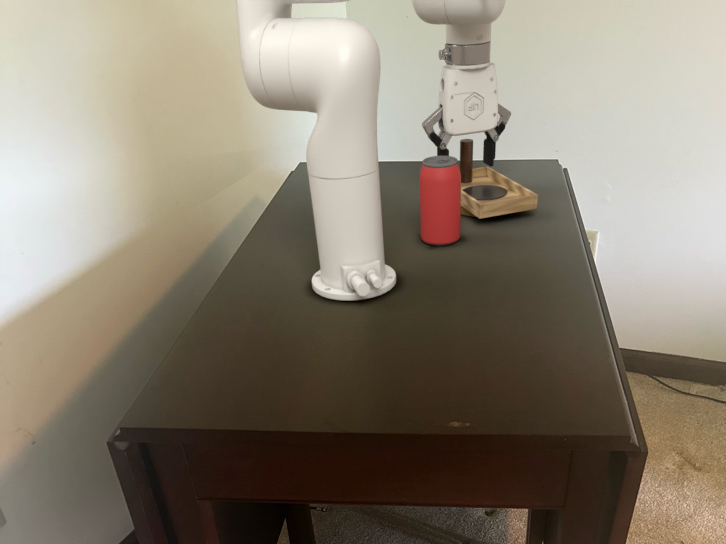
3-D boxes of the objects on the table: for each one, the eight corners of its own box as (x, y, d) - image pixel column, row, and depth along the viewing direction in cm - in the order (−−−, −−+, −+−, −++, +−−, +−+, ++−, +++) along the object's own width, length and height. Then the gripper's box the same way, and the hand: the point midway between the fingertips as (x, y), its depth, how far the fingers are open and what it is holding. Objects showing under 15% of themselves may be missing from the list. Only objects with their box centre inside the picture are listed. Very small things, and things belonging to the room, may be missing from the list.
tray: (536, 208, 117) (541, 159, 112) (479, 218, 114) (480, 169, 109) (487, 179, 131) (489, 134, 125) (435, 187, 128) (434, 142, 123)
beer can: (468, 238, 112) (469, 158, 104) (442, 250, 109) (442, 168, 101) (438, 230, 116) (437, 152, 107) (412, 241, 112) (410, 162, 104)
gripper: (428, 64, 110) (430, 180, 121) (524, 52, 113) (517, 166, 125) (412, 57, 115) (416, 169, 127) (504, 47, 119) (499, 156, 130)
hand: (466, 167), depth 126 cm, fingers open, 8 cm apart
